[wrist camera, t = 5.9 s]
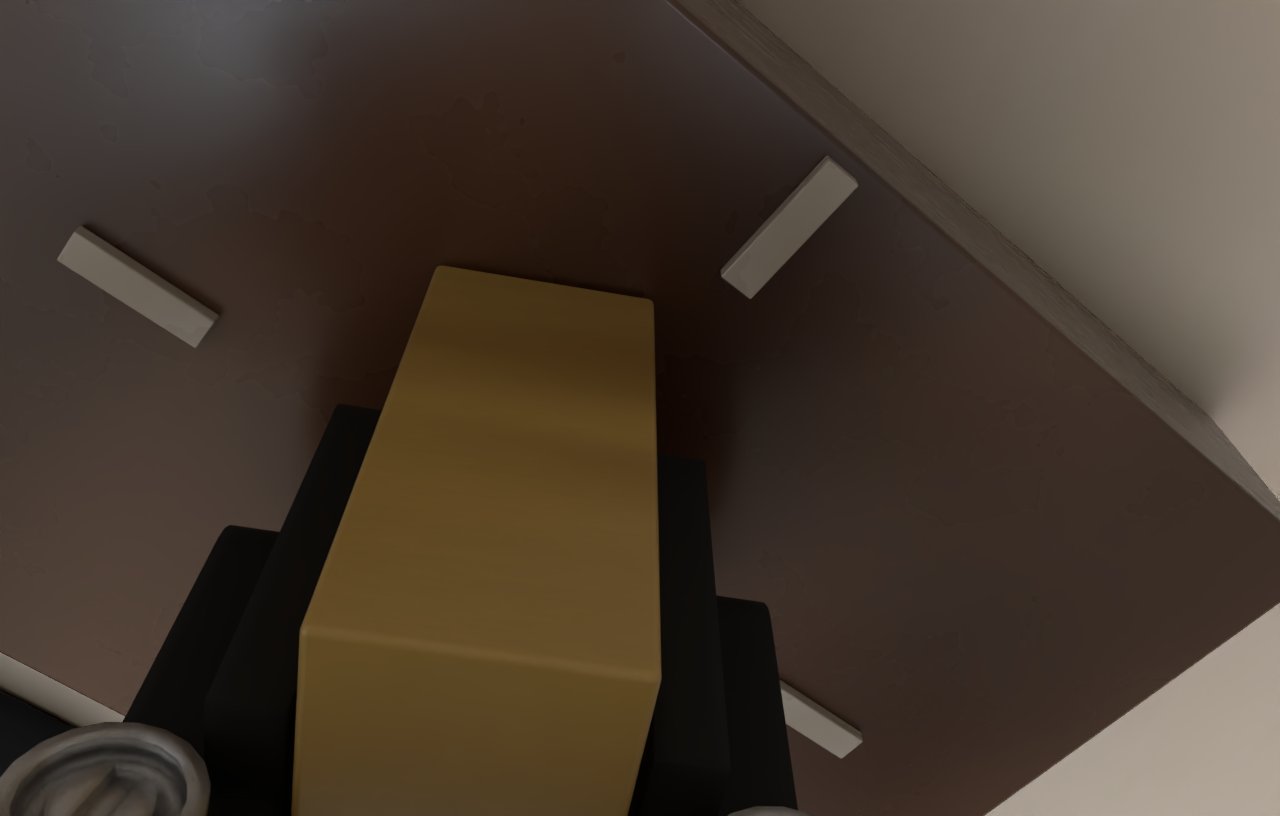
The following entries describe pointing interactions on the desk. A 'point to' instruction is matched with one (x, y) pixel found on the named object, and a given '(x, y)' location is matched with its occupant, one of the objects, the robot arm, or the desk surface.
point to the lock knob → (493, 568)
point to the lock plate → (684, 354)
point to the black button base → (23, 729)
